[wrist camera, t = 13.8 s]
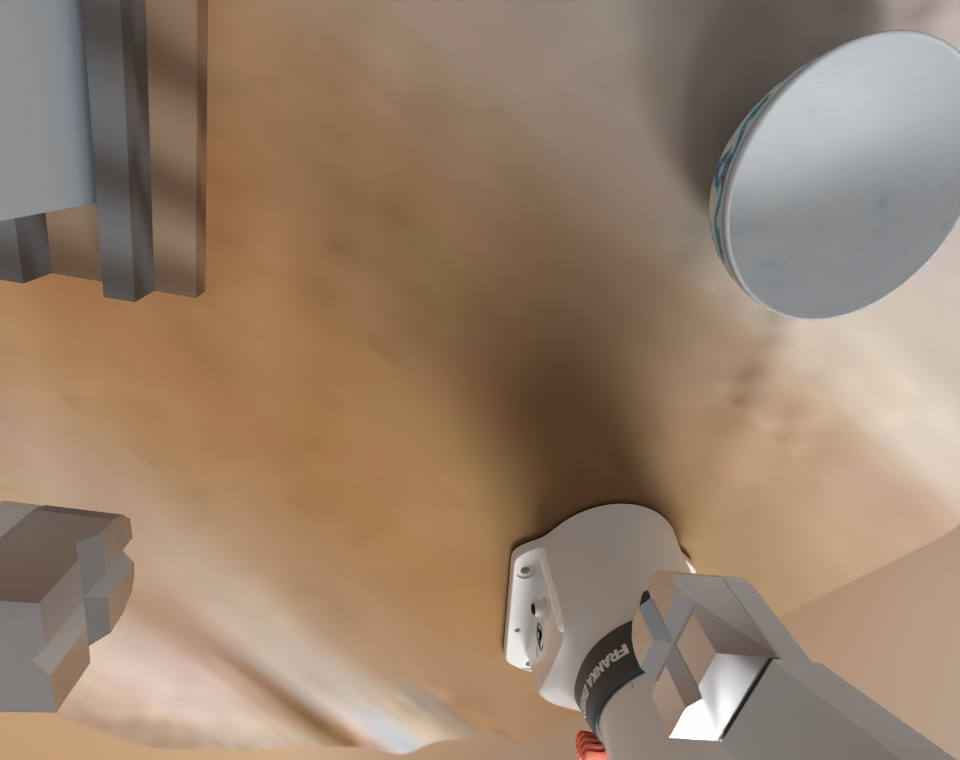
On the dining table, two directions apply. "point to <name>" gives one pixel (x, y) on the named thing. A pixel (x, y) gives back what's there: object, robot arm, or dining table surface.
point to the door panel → (44, 109)
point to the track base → (168, 159)
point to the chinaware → (843, 177)
